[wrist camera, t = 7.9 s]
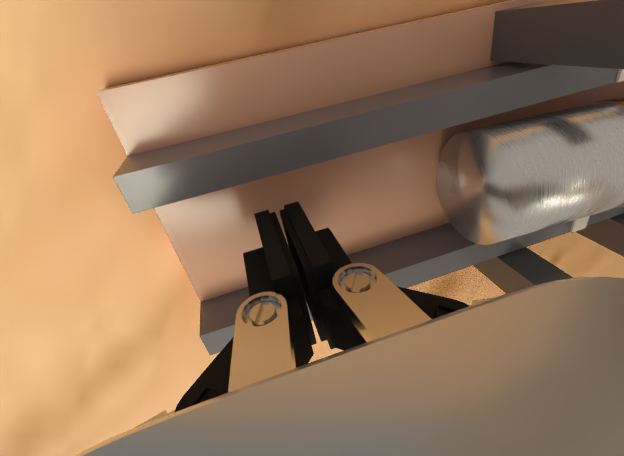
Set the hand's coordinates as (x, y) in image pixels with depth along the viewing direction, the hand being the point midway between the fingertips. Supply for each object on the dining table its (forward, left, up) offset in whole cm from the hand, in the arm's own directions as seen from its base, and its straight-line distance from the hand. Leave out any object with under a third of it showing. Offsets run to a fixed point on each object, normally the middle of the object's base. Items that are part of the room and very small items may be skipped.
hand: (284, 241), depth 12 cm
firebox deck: (0, -8, -3) cm, 9 cm away
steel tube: (0, -14, -2) cm, 14 cm away
